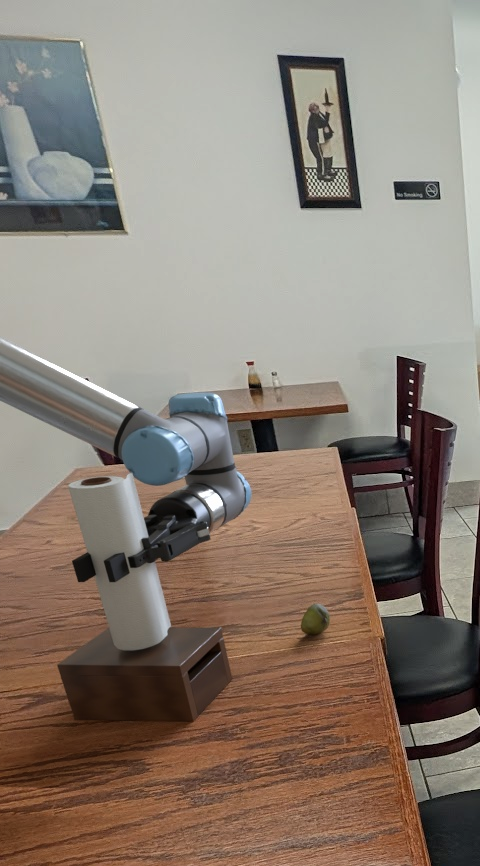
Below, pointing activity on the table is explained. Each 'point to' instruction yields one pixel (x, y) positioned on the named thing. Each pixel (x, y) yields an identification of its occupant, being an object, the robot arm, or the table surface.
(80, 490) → the paper towel roll
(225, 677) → the drawer box
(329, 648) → the table surface
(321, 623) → the lime
